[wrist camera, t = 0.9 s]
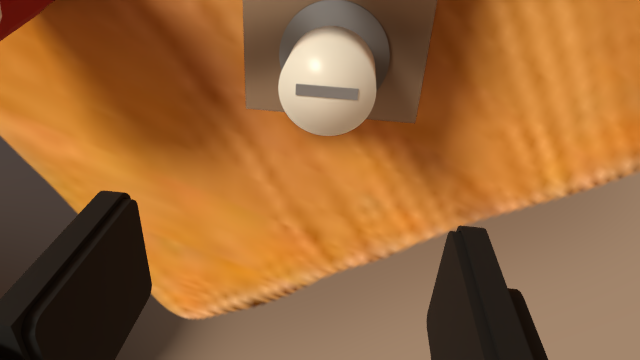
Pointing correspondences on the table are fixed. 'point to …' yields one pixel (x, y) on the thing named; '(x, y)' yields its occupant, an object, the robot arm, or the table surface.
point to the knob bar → (356, 15)
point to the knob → (328, 81)
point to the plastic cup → (18, 13)
